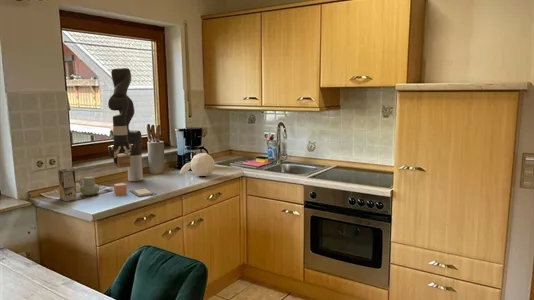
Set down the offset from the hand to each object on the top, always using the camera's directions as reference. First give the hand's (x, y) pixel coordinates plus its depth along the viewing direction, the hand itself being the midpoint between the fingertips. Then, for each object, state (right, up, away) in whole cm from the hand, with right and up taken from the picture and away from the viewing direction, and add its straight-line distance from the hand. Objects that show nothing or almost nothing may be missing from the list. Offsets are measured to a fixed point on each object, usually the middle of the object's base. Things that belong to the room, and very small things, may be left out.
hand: (122, 163), depth 227 cm
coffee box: (-29, -20, -3) cm, 35 cm away
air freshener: (-21, -18, +6) cm, 28 cm away
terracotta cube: (-4, -18, +8) cm, 20 cm away
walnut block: (0, -1, 0) cm, 1 cm away
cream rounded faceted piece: (+33, -11, +58) cm, 67 cm away
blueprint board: (+9, -18, +10) cm, 22 cm away
